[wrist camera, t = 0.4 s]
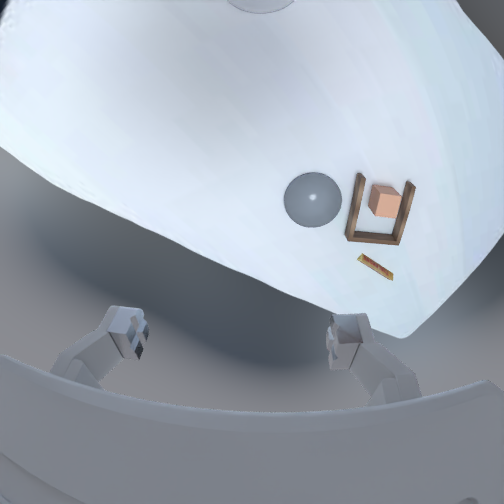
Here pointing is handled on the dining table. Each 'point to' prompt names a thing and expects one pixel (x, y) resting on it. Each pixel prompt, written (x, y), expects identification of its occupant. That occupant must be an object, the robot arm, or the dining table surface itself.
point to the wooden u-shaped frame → (376, 237)
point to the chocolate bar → (375, 266)
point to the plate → (312, 200)
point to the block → (384, 201)
